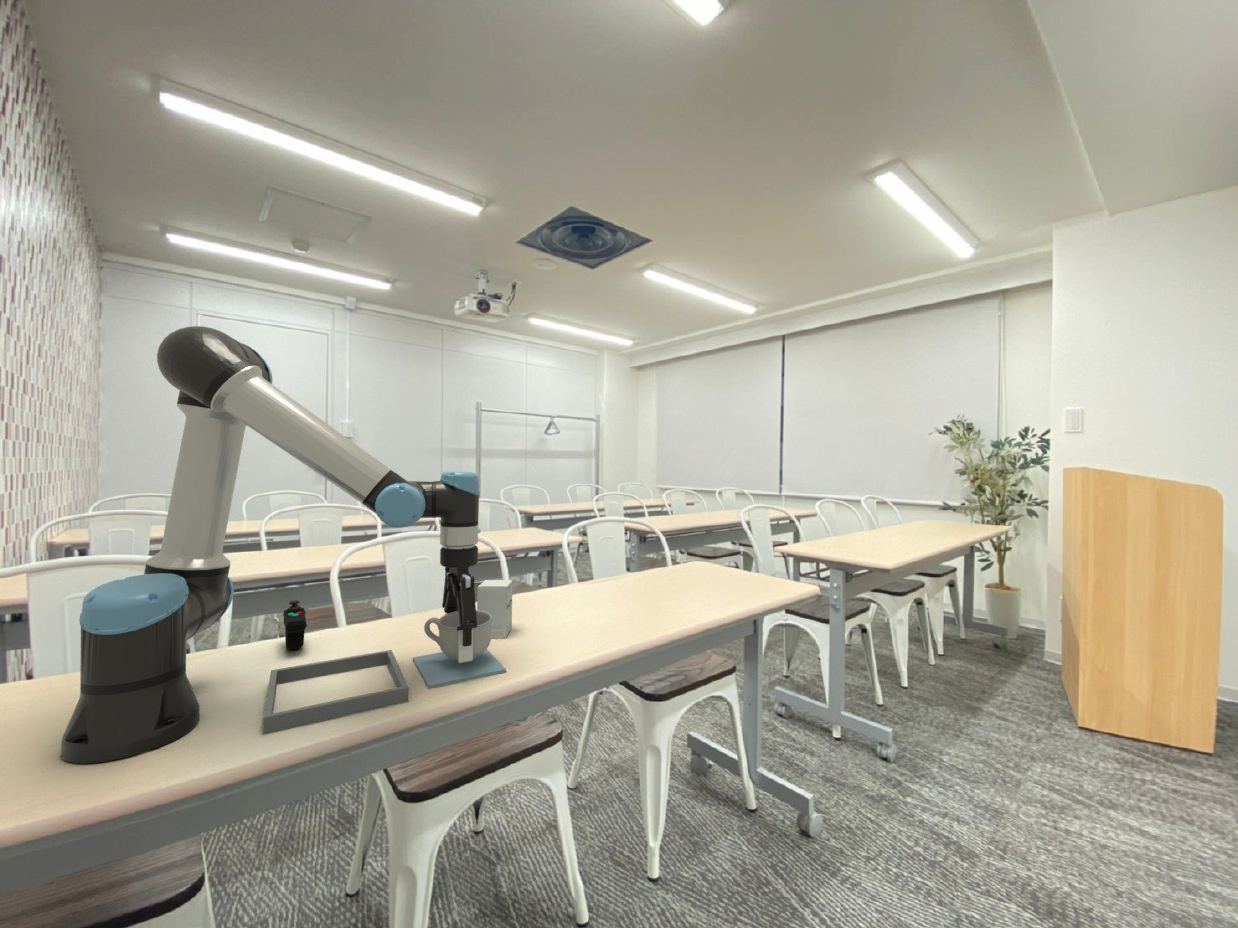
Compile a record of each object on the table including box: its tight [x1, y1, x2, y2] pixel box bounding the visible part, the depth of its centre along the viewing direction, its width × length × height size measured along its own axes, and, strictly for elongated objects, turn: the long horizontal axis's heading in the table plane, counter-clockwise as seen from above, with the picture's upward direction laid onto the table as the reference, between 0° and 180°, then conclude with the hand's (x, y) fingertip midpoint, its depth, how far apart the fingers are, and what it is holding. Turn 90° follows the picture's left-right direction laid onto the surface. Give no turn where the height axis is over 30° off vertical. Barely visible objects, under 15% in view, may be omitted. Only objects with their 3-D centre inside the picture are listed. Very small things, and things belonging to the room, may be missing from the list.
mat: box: [412, 648, 507, 690], centre depth 104 cm, size 15×16×1 cm
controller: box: [283, 599, 308, 651], centre depth 113 cm, size 4×12×10 cm, turn 36°
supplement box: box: [476, 579, 513, 639], centre depth 125 cm, size 7×7×13 cm
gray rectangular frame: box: [262, 649, 410, 735], centre depth 92 cm, size 21×21×2 cm
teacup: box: [423, 609, 492, 660], centre depth 105 cm, size 14×11×8 cm
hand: (458, 651), depth 104 cm, fingers closed on teacup, 11 cm apart
